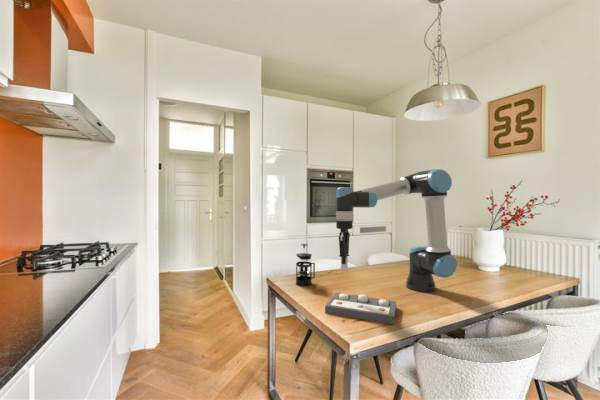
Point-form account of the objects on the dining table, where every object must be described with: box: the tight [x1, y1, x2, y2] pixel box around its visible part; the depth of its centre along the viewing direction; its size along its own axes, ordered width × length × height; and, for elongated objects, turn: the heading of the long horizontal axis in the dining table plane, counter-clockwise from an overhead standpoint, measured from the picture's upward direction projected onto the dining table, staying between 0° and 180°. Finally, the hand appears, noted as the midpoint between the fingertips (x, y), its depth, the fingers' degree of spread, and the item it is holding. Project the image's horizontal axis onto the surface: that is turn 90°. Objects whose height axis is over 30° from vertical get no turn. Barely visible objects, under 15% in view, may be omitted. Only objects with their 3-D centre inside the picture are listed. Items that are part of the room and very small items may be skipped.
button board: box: [324, 292, 397, 325], centre depth 120 cm, size 28×18×4 cm, turn 67°
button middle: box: [357, 293, 369, 303], centre depth 123 cm, size 4×4×3 cm
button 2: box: [379, 298, 389, 306], centre depth 120 cm, size 4×4×3 cm
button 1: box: [339, 293, 348, 300], centre depth 127 cm, size 4×4×3 cm
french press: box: [295, 243, 316, 287], centre depth 157 cm, size 12×9×23 cm
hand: (344, 270), depth 127 cm, fingers closed
